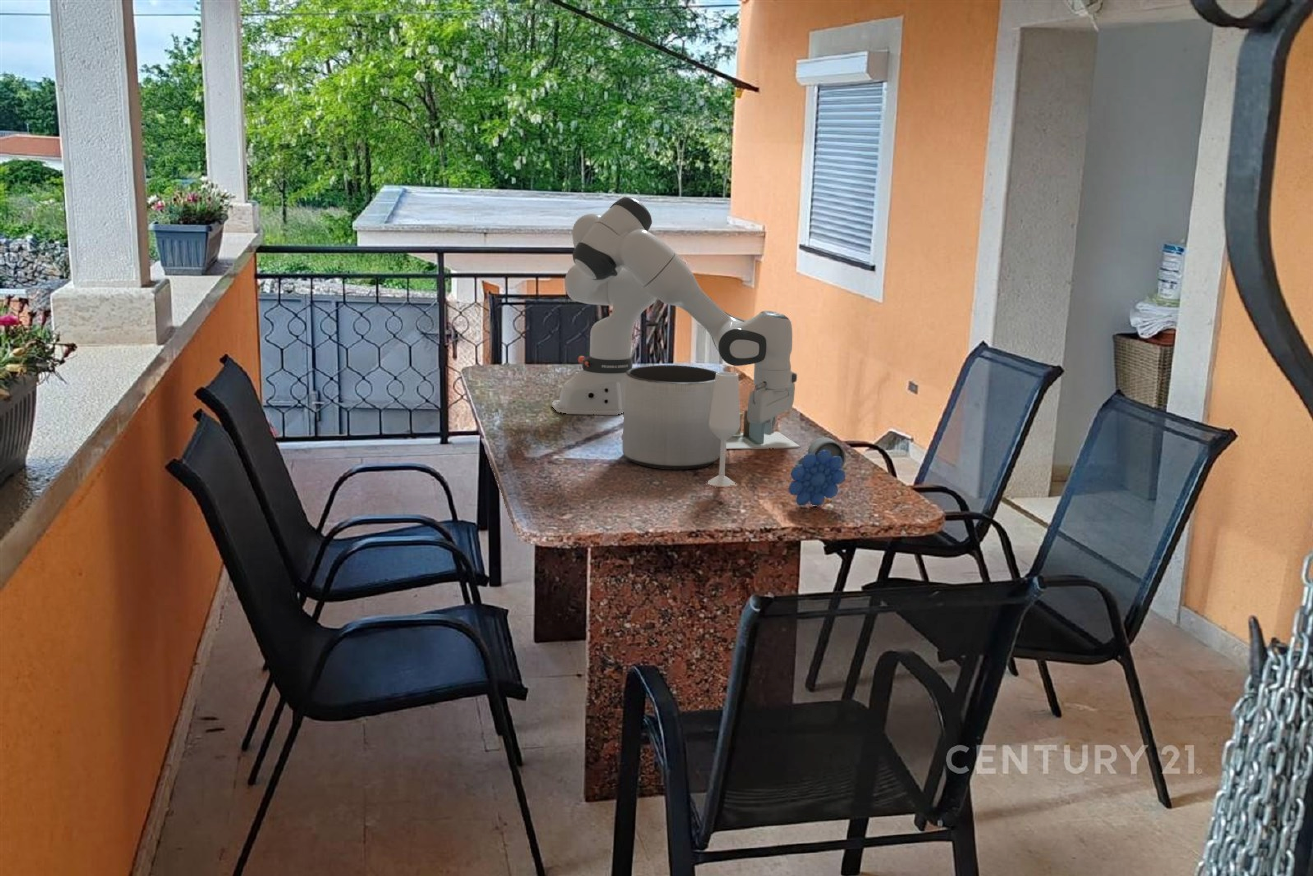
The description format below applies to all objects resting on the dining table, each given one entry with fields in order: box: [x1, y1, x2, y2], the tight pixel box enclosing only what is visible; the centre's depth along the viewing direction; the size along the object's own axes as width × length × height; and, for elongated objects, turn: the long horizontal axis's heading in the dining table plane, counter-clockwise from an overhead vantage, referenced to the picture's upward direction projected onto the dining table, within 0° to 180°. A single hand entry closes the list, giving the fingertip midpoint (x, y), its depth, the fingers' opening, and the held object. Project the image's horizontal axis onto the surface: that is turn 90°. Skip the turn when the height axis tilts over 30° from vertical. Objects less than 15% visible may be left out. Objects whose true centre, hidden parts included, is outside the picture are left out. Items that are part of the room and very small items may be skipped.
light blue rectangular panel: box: [749, 422, 766, 444], centre depth 299 cm, size 8×1×5 cm, turn 16°
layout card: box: [726, 431, 801, 450], centre depth 301 cm, size 21×15×1 cm
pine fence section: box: [734, 409, 750, 437], centre depth 303 cm, size 13×2×7 cm, turn 105°
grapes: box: [788, 450, 846, 507], centre depth 248 cm, size 12×7×12 cm, turn 99°
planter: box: [621, 364, 721, 470], centre depth 280 cm, size 23×23×20 cm
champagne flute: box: [707, 371, 741, 486], centre depth 260 cm, size 7×7×24 cm
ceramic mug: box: [794, 436, 847, 470], centre depth 276 cm, size 11×8×8 cm
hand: (769, 434), depth 299 cm, fingers closed
